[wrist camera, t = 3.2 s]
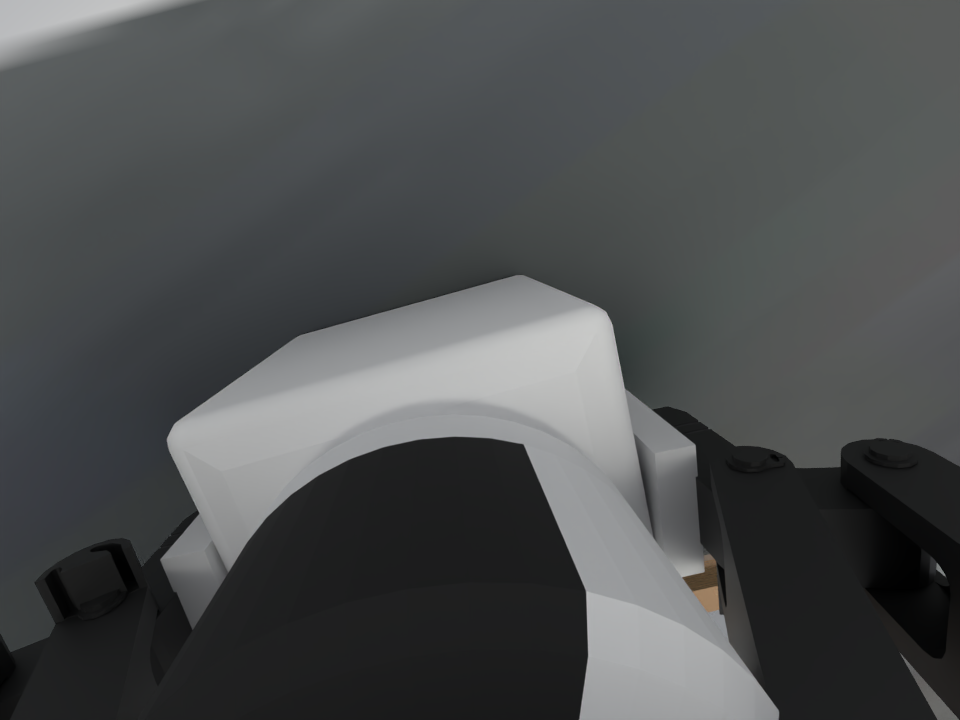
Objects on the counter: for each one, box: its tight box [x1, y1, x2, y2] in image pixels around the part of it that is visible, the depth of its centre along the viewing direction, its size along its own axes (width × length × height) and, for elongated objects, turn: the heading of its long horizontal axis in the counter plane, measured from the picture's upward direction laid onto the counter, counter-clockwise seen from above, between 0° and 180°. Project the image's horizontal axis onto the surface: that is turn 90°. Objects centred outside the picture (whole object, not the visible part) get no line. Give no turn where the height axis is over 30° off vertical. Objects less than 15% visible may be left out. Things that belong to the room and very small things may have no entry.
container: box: [137, 275, 779, 720], centre depth 10 cm, size 8×8×13 cm
